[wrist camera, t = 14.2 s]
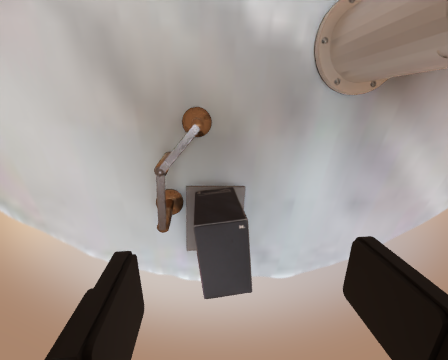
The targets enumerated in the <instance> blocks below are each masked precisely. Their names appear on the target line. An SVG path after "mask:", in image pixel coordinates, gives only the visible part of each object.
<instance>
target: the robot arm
mask: <svg viewBox="0 0 448 360" xmlns="http://www.w3.org/2000/svg"><path fill="white" fill-rule="evenodd" d="M322 41H323V43H322ZM315 57H316V64H317V67H318V70H319V73H320V75H321V77H322V78H323V80H324V81H325V83H326V84H327V85H328V86H329V87H330V88H332V89H333V90H335V91H337V92H339V93H341V94H346V95H357V94H364V93H367V92H370V91H372V90H374V89H376V88H377V87H379V86H380V85H382V84H383V83H384V82H385V81H386V80H387V79H388V78H392V77H398V76H404V75H410V74H416V73H422V72H428V71H434V70H440V69H446V68H448V0H339V1H338V2H337V3H336V4H335V5H334V6H333V7H332V8H331V9H330V10H329V12H328V13H327V14H326V16H325V18H324V20H323V21H322V23H321V25H320V28H319V31H318V34H317V39H316V44H315ZM334 81H335V83H334ZM343 293H344V296H345V297H346V299H347V300H348V301H349V303H350V304H351V306H352V307H353V308H354V310H355V311H356V312H357V314H358V315H359V316H360V318H361V319H362V320H363V322H364V323H365V324H366V326H367V327H368V329H369V330H370V331H371V332H372V334H373V335H374V336H375V338H376V339H377V341H378V342H379V343H380V344H381V346H382V347H383V348H384V350H385V351H386V353H387V354H388V355H389V357H390V358H391V359H392V360H448V294H446V293H445V292H444V291H442V290H441V289H440V288H439V287H437V286H436V285H435V284H433V283H432V282H431V281H430V280H428V279H427V278H426V277H424V276H423V275H422V274H420V273H419V272H418V271H417V270H415V269H414V268H413V267H411V266H410V265H409V264H407V263H406V262H405V261H404V260H402V259H401V258H400V257H398V256H397V255H396V254H395V253H393V252H392V251H391V250H389V249H388V248H387V247H385V246H384V245H383V244H382V243H380V242H379V241H378V240H376V239H375V238H374V237H371V236H368V237H358V238H356V240H355V241H353V243H352V247H351V252H350V257H349V262H348V267H347V271H346V276H345V280H344V286H343ZM143 314H144V300H143V294H142V288H141V281H140V275H139V268H138V262H137V256H136V255H135V254H133V255H132V252H131V251H121V252H115V253H114V254H113V256H112V258H111V260H110V261H109V263H108V265H107V266H106V268H105V270H104V272H103V273H102V275H101V277H100V278H99V280H98V282H97V283H96V285H95V287H94V288H93V289H89V290H88V291H87V293H85V295H84V297H83V298H82V300H81V301H80V303H79V305H78V306H77V308H76V310H75V311H74V313H73V314H72V316H71V318H70V319H69V321H68V322H67V324H66V326H65V327H64V329H63V331H62V332H61V334H60V336H59V337H58V339H57V340H56V342H55V344H54V345H53V347H52V348H51V350H50V352H49V353H48V355H47V357H46V358H45V360H131V357H132V354H133V350H134V346H135V343H136V339H137V336H138V332H139V329H140V325H141V321H142V318H143Z"/></svg>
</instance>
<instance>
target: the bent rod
mask: <svg viewBox="0 0 448 360" xmlns="http://www.w3.org/2000/svg"><path fill="white" fill-rule="evenodd" d="M182 124H183V128H184V130H185V131H186V132H187V133H186V135H185V136H184V137H183V138H182V140H181V141H180V142H179V143H178V145H177V146H176V147H175V148H174V149H173V151H172V152H166V153H165V154H164V156H163V157H162V158H161V160H160V161H159V163H158V164H157V166H156V167H155V169H154V172H155V175H156V182H157V200H156V205H157V208H158V225H157V229H158V231H160V232H162V233H164V232H167V231H168V230H169V226H170V221H171V217H172V215H174V214H176V213H178V212H179V211H180V210H181V209H182V207H183V197H182V195H181V194H180V193H179V192H178V191H176V190H173V189H167V190H165V175H166V174H167V172H168V170H169V167H170V166H171V165H172V163H173V162H174V161H175V160H176V158H177V157H178V156H179V155H180V154H181V152H182V151H183V150H184V149H185V148H186V146H187V145H188V144H189V143H190V141H191V140H192V139H193V138H194V137H201V136H204V135H205V134H207V133H208V131H209V130H210V128H211V117H210V115H209V113H208V112H207V111H206V110H204V109H203V108H200V107H193V108H190V109H189V110H187V111H186V112H185V114H184V116H183V119H182Z"/></svg>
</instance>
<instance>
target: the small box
mask: <svg viewBox="0 0 448 360" xmlns="http://www.w3.org/2000/svg"><path fill="white" fill-rule="evenodd" d="M194 235H195V242H196V249H197V256H198V263H199V269H200V275H201V282H202V288H203V294H204V299H211V298H218V297H224V296H230V295H237V294H243V293H251V292H252V281H251V280H252V278H251V260H250V245H249V229H248V219H247V217H246V215H245V212H244V210H243V208H242V206H241V203H240V202H239V199H238V197H237V194H236V192H235V189H234V188H233V187H229V188H223V189H217V190H204V191H200V192H195V203H194Z"/></svg>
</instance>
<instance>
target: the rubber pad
mask: <svg viewBox="0 0 448 360" xmlns="http://www.w3.org/2000/svg"><path fill="white" fill-rule="evenodd" d="M229 187H233V188H234V189H235V192H236V194H237V197H238V199H239V202H240V203H241V206H242V208H243V210H244V197H245V186H186V207H187V251H192V250H197V249H196V242H195V235H194V203H195V192H200V191H204V190H217V189H223V188H229Z"/></svg>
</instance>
